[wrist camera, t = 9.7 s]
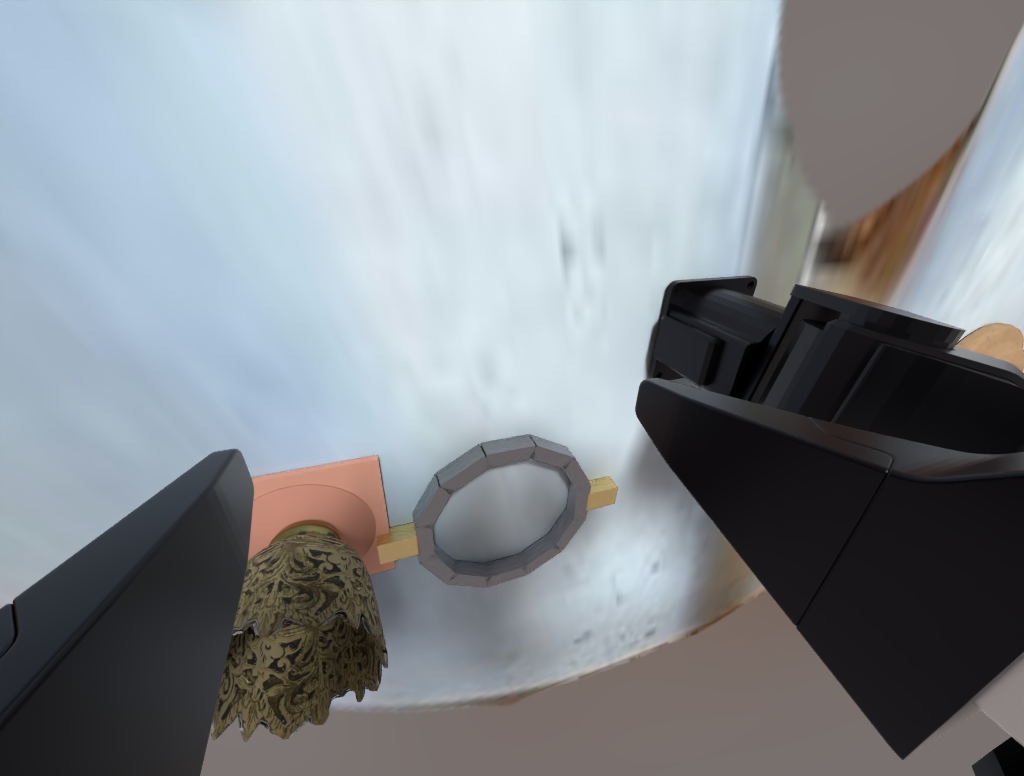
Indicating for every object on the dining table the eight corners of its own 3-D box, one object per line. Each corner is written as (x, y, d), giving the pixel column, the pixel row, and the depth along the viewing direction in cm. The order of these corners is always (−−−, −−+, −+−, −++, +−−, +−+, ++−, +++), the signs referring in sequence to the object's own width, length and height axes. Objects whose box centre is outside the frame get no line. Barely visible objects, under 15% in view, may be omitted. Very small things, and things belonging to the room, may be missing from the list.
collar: (620, 417, 28) (630, 426, 27) (597, 540, 34) (604, 551, 33) (363, 464, 23) (364, 478, 22) (388, 600, 28) (390, 615, 27)
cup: (278, 602, 24) (254, 765, 18) (194, 528, 20) (125, 704, 14) (395, 546, 26) (414, 679, 19) (338, 465, 22) (337, 600, 15)
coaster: (377, 455, 23) (378, 460, 22) (394, 563, 27) (395, 569, 27) (185, 489, 20) (181, 496, 19) (238, 604, 24) (237, 611, 24)
